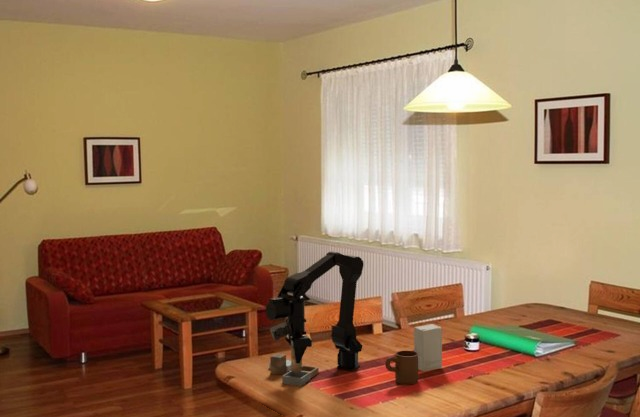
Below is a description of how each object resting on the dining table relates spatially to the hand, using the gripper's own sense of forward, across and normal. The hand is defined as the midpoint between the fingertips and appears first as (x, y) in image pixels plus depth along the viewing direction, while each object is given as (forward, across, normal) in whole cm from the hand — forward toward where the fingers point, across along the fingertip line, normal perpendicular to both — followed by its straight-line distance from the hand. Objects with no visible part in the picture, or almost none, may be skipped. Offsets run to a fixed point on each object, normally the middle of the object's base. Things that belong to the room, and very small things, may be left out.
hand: (296, 361), depth 228 cm
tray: (+7, 0, 0) cm, 7 cm away
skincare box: (+7, 0, +47) cm, 48 cm away
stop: (+7, -11, -4) cm, 14 cm away
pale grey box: (+7, -16, -1) cm, 17 cm away
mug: (+7, +11, +33) cm, 35 cm away
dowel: (+3, 0, 0) cm, 3 cm away
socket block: (+7, -6, +5) cm, 10 cm away
